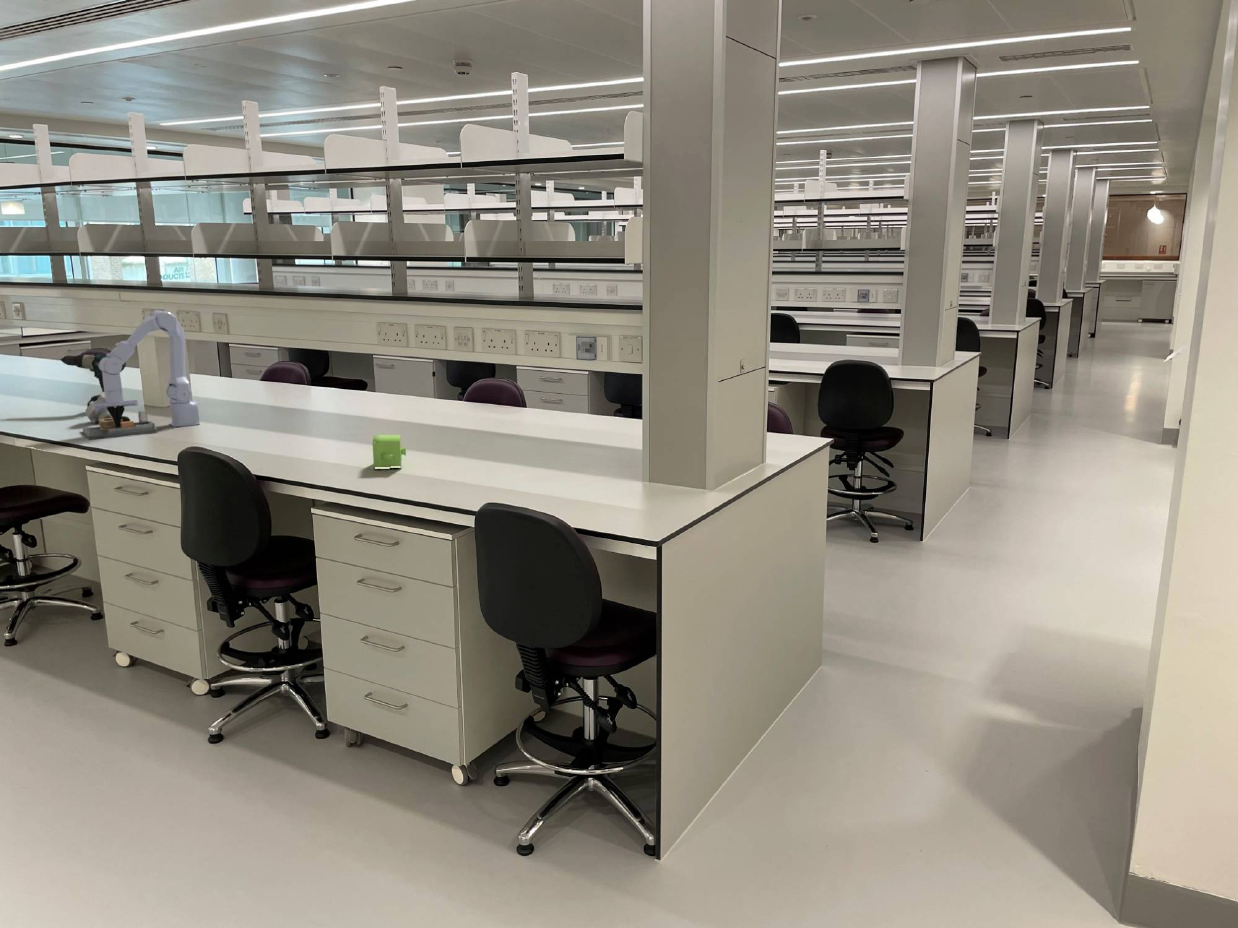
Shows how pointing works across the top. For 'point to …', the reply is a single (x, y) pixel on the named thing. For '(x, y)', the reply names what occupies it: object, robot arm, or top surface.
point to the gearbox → (387, 450)
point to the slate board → (119, 431)
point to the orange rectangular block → (127, 424)
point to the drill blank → (142, 417)
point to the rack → (106, 423)
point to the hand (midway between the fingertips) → (117, 426)
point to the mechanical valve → (100, 411)
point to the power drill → (89, 367)
